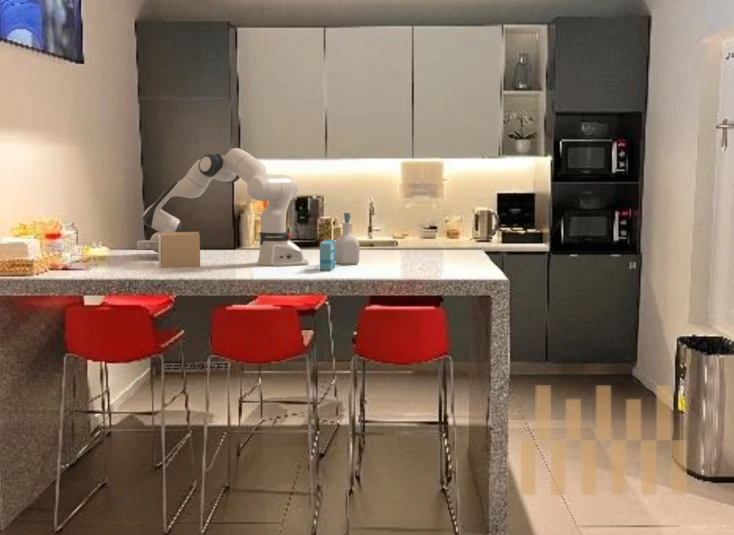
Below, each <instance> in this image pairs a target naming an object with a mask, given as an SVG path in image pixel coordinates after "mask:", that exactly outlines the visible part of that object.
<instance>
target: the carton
mask: <svg viewBox="0 0 734 535" xmlns="http://www.w3.org/2000/svg"><path fill="white" fill-rule="evenodd" d="M200 238H201V236H200V233H199V231H180V232H161V255H162V264H161V269H172V268H179V269H180V268H201V240H200Z"/></svg>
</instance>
